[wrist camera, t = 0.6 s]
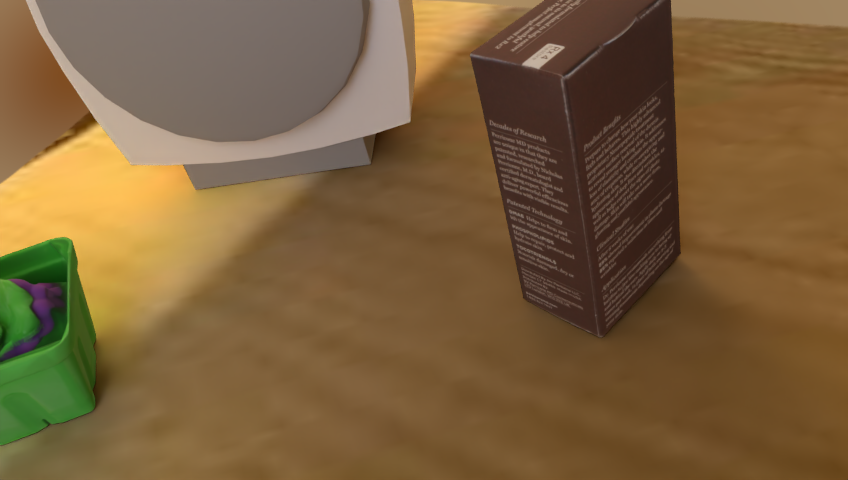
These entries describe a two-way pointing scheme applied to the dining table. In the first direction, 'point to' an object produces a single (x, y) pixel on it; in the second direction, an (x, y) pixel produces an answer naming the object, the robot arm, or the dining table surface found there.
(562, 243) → the box
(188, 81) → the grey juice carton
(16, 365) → the fruit basket
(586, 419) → the dining table surface
